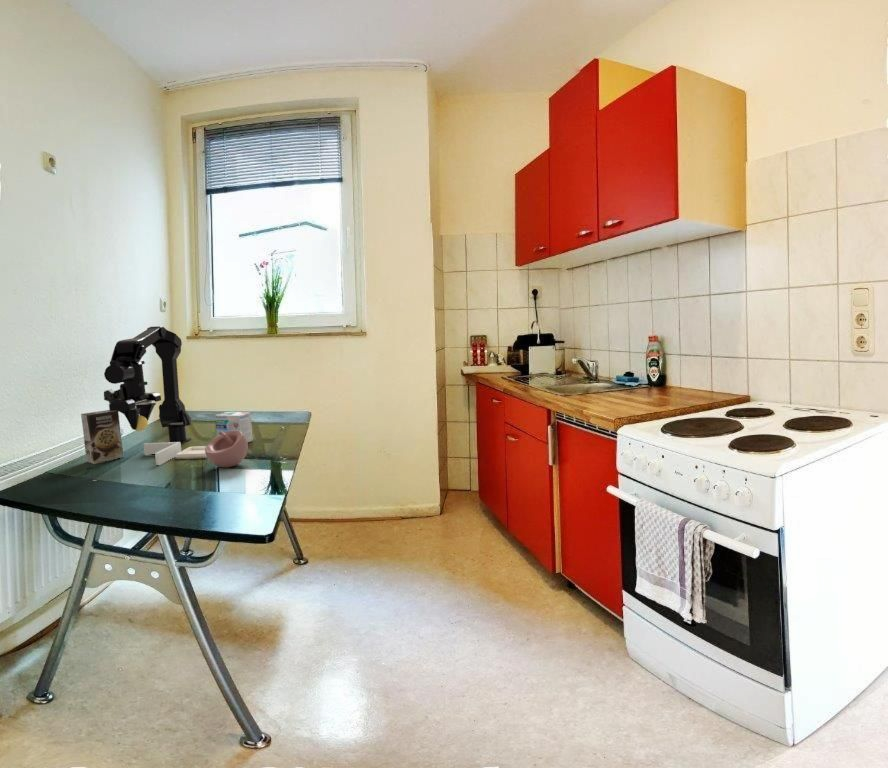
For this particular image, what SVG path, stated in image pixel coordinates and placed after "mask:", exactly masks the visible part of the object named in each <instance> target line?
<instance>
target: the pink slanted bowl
mask: <svg viewBox="0 0 888 768" xmlns="http://www.w3.org/2000/svg"><path fill="white" fill-rule="evenodd" d="M219 434H221V435H219V436H217V435H216V436H215V438H213V439H212V440H211V441H210V442H208V443H207V445H206V446H207V447H206V449H205V453H206V456H207V458H206V459H208V460H209V462H210V463H211V464H213V465H214V466H216V467H220V468H231V467H232V468H233V467H234V466H237V465H239V464H240V463H241V462H242V461H243V460H244V459H245V457H246V456H247V453H248V449H249V442H248V443H247V440H246V438H245V436H244V435H243V433H242V432H240V431H237V430H233V431H228V432H225V433H224V432H222V431H219Z"/></svg>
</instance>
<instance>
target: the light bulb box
mask: <svg viewBox="0 0 888 768" xmlns="http://www.w3.org/2000/svg"><path fill="white" fill-rule="evenodd" d="M214 419H215V428H216V430H215V431H216V437H217V436H219V435H221V434H219V431H222V432H224V433H225V432H228V431H233V430H237V431H240V432H242V433H243V435H244V436H245V438H246V440H247V443H248V444H249V443H250V442H253V441H254V438H253V428H252V427H253V426H252V415H251V411H249V412H248V411H225V412H221V413H217V414H215V415H214Z"/></svg>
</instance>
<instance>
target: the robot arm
mask: <svg viewBox="0 0 888 768" xmlns="http://www.w3.org/2000/svg"><path fill="white" fill-rule="evenodd" d="M182 343H183V342H182V339H181V338H180V336H178V334H176V332H173V331H170V330H168V329H167V328H166V327H164V326H162V325H161V326H157V325H156V326H150V327H147V329H146V330H143V332H141V333H139V334H137V335H136V336H134V337H133V338H126V339H122V340H119V341H117V342H116V343H115V346H114V348H113V352H112V355H111V357H110V360H109V365H108V366H107V367H106V368H105V370H104V372H103V373H104V374H103V376H104V378H105V380H106V382H108V383H109V384H112V385H113V384H114V385H116V384H120V385H119V389H116V390H113V389H107V390H104V391H103V400H104V401H106V402H108V403H109V404H108V408H109V409H108V410H110V411H118V413H120V414H123V415H124V417H125V418H126V420H127V422H128V424H129V426H130V428H131V427H132V428H131V430H133V431H136V430H135V429H137V425H138V419H139V415H140V416H144V417H145V418H146V419H147V421H148V422H149V419H150V417H151V415H152V412H153V410H154V408H155V406H156V405H157V403H156V402H160V401H162V395H161V393H159V392H146V386H148V381H145V378H144V369H143V367H144V366H143V365H145V363H146V362H145V360H143V359H142V358H143V357H144V355H145V354H146V353H147V348H148V347H150V346H151V345H152V346H153V348H154V349H155V353H156V355H157V356H158V357H159V359H160V361H161V370H162V371H161V373H162V383H163V385H162V386H163V397H164V398H163V399H164V400H163V401H162V403H161V404H159V406H158V410H159V411H158V412H159V414H158V418H159V421H160V424H161V428H167V431H168V438H169V439H168V441H167V442H180V443H181V444H183V443H186V442H189V441H190V440H192V438H191V437H187V428H186V427H187V426H190V425H191V424H192V418H191V416H190V414H189V413H188V411H187V410H186V405H185V404H184V403H183V401H182V400H181V399H180V389H179V378H178V361H177V360H178V358H179V356H180V354H181V352H182V345H183V344H182Z"/></svg>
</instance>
